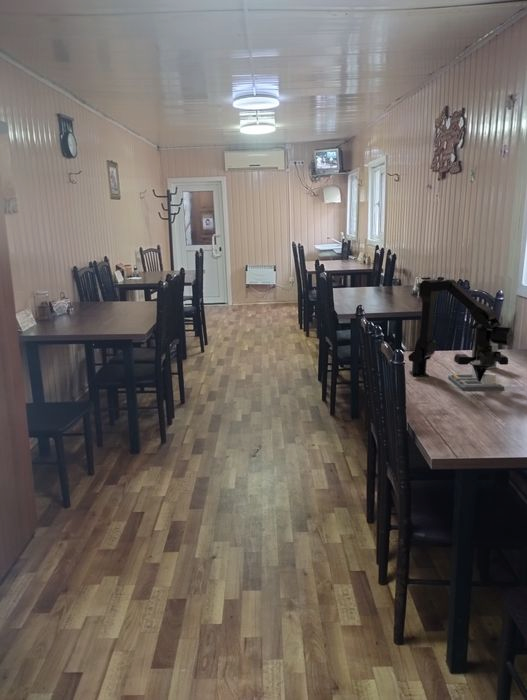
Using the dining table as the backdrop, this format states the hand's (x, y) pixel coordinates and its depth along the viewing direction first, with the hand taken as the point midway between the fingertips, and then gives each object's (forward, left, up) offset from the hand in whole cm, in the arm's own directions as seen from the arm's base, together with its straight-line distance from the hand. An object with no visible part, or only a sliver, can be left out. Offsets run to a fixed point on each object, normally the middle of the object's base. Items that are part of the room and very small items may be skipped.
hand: (479, 381), depth 216 cm
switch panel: (-5, 0, -3) cm, 5 cm away
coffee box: (-32, +14, -3) cm, 35 cm away
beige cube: (0, +4, -1) cm, 4 cm away
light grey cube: (-9, +3, -1) cm, 10 cm away
